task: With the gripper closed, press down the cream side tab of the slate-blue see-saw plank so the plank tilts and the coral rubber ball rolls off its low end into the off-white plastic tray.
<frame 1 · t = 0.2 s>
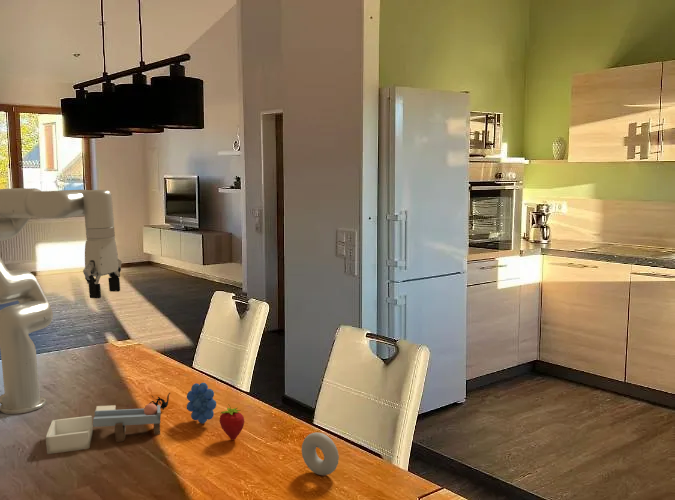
hand: (105, 294, 184), 36 cm above the table, tool pointing down, fingers open, 9 cm apart
grapes: (204, 422, 184), on the table
pivot stand: (120, 435, 176), on the table
ball: (150, 410, 177), point 6 cm above the table, tilted 10°, touching lever
creature: (156, 411, 194), on the table
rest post: (157, 430, 178), on the table
tray: (70, 442, 172), on the table
donut: (320, 475, 151), on the table
strawberry: (232, 440, 171), on the table
lever: (127, 412, 179), point 5 cm above the table, hinge at 4.5°, touching ball, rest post
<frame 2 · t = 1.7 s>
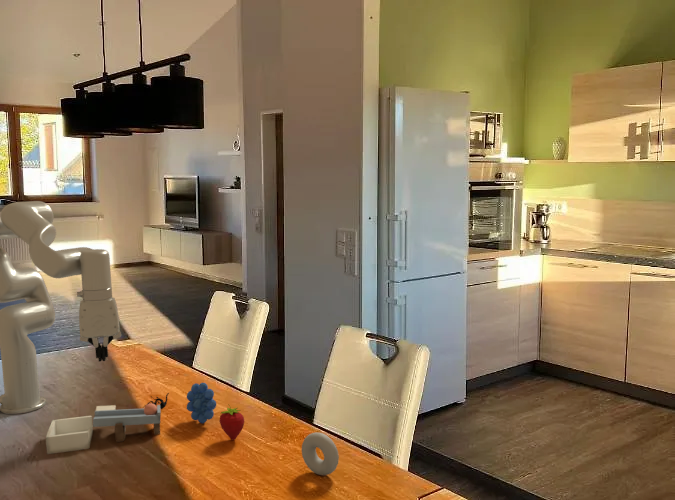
hand: (102, 359, 180), 19 cm above the table, tool pointing down, fingers closed
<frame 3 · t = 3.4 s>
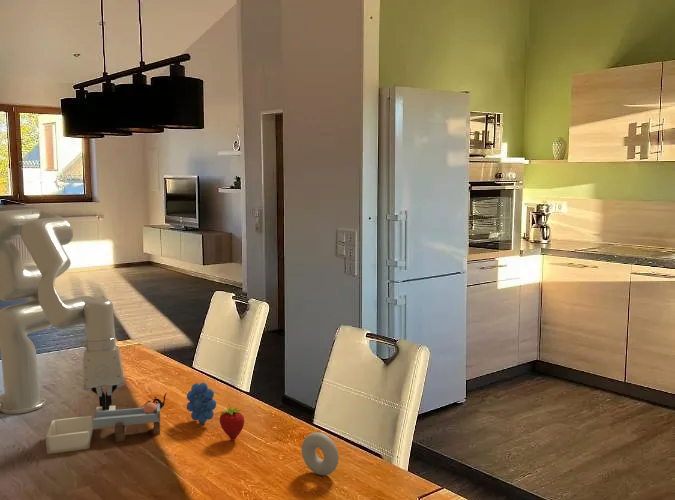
hand: (106, 408, 182), 5 cm above the table, tool pointing down, fingers closed
lever: (127, 411, 179), point 5 cm above the table, hinge at 1.9°, touching ball, gripper
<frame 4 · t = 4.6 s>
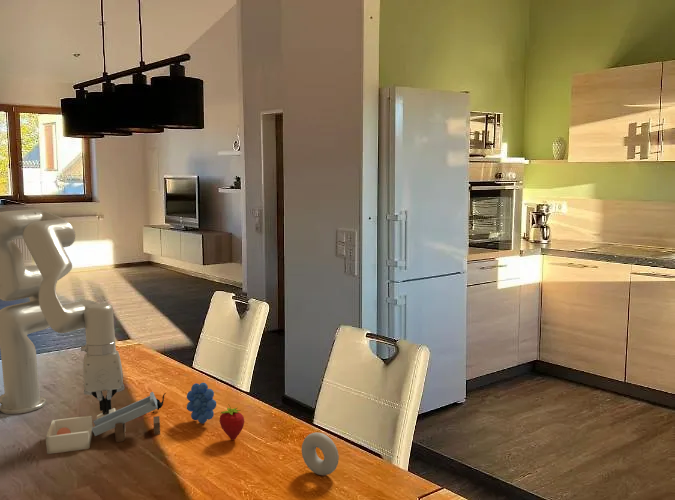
hand: (106, 412, 182), 4 cm above the table, tool pointing down, fingers closed
ball: (63, 434, 171), point 2 cm above the table, tilted 67°, touching tray
lever: (125, 409, 179), point 6 cm above the table, hinge at -18.9°, touching gripper
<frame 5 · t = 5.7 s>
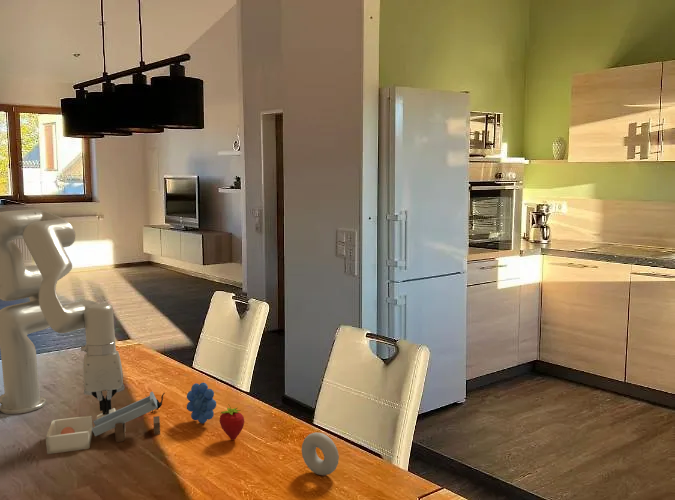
hand: (106, 412, 182), 4 cm above the table, tool pointing down, fingers closed
ball: (67, 433, 172), point 2 cm above the table, tilted 34°, touching tray
lever: (125, 409, 178), point 6 cm above the table, hinge at -19.3°, touching gripper
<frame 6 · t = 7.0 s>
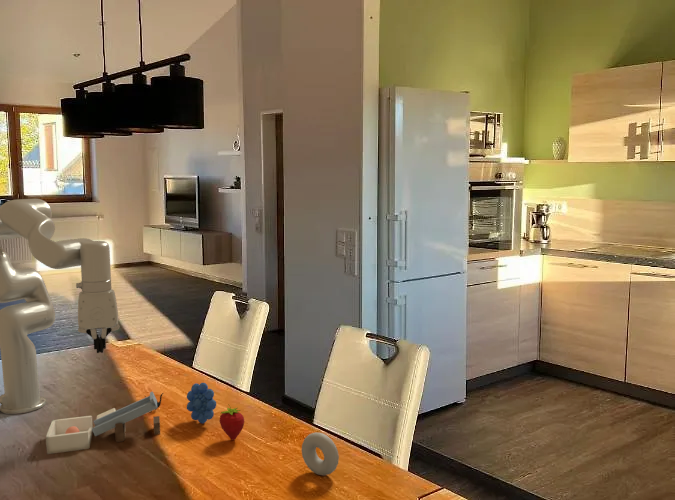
hand: (100, 351, 180), 21 cm above the table, tool pointing down, fingers closed
ball: (72, 433, 172), point 2 cm above the table, touching tray
lever: (125, 409, 178), point 6 cm above the table, hinge at -19.3°
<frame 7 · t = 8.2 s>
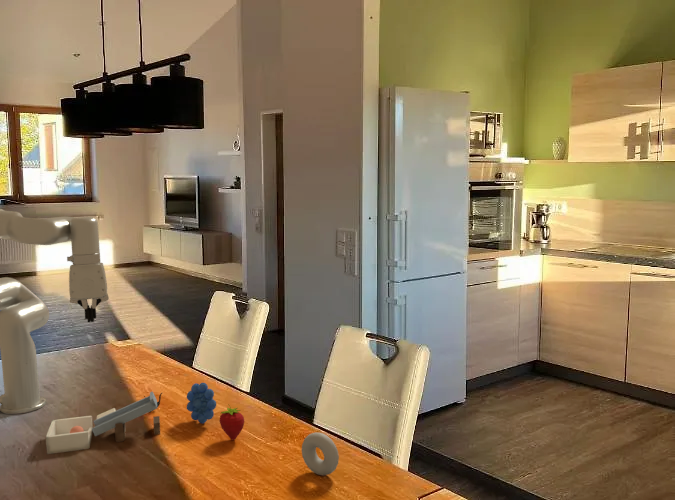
hand: (91, 321, 192), 27 cm above the table, tool pointing down, fingers closed
ball: (76, 432, 172), point 2 cm above the table, tilted 39°, touching tray
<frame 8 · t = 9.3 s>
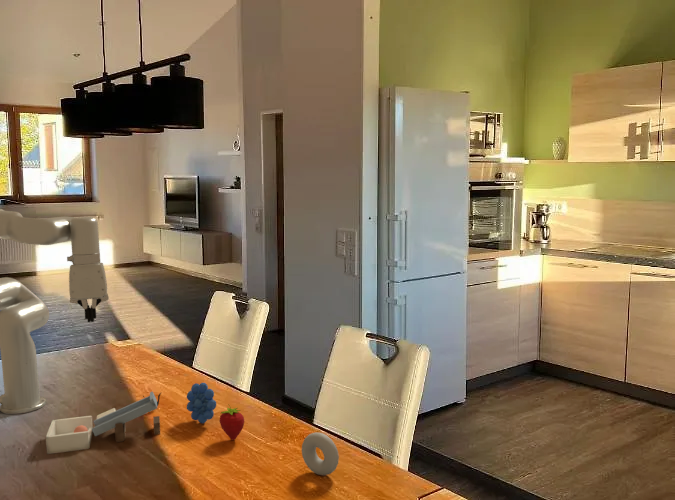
hand: (91, 321, 192), 27 cm above the table, tool pointing down, fingers closed
ball: (80, 432, 173), point 2 cm above the table, tilted 71°, touching tray
at the end: ball inside the target area on the tray (2.6 cm from its centre), point 2.3 cm above the tray's base; ball touching tray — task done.
